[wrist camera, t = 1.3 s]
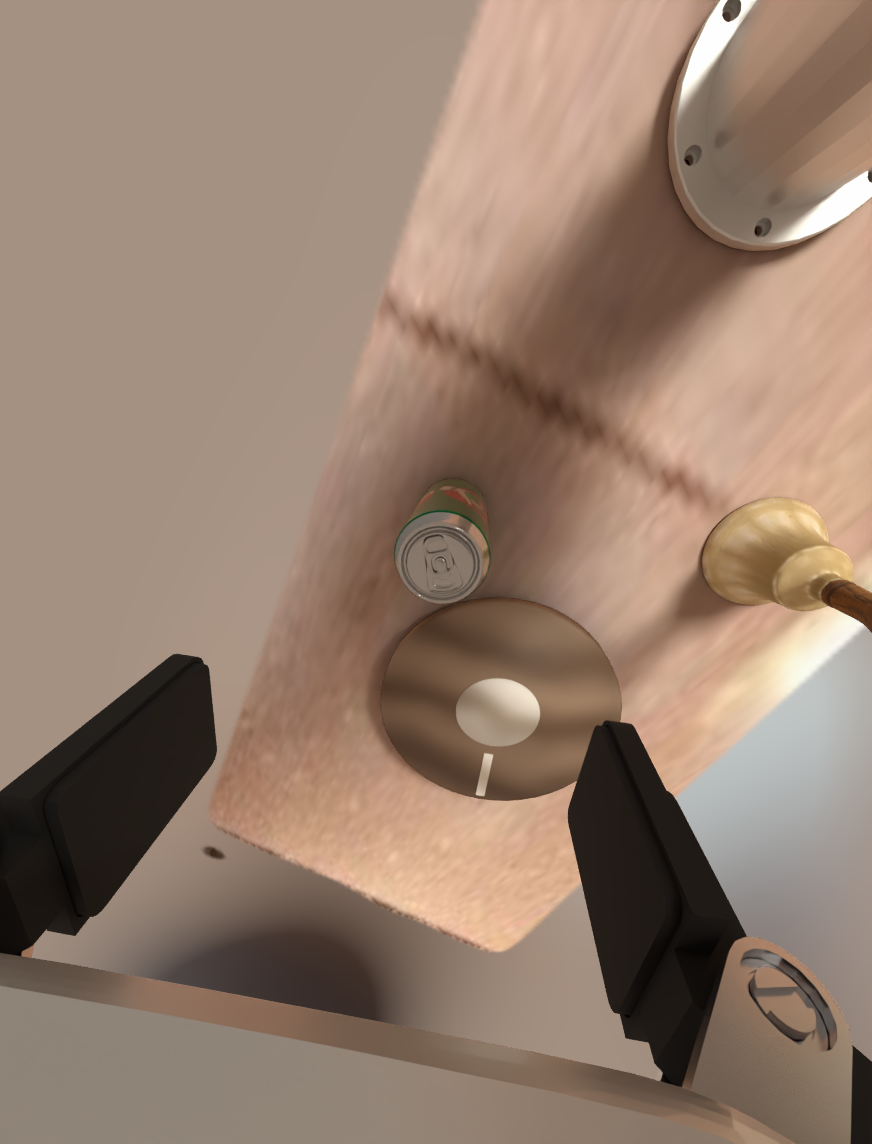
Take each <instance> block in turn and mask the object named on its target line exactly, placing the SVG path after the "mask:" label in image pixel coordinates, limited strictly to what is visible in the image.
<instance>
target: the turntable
mask: <svg viewBox="0 0 872 1144" xmlns="http://www.w3.org/2000/svg"><path fill="white" fill-rule="evenodd" d="M621 710H622V702H621V692H620V687H619V683H618V680H617V677H616V675H615V673H614V670H613V668H612V666H611V664H610V662H609V660H608V658H607V656H606V655H605V653H604V651H603V650H602V648H601V647H600V645H599V644H598V643H597V641H596V640H595V639H594V638H593V637H592V636H591V634H590V633H589V632H587V631H586V630H585V629H584V628H583V627H582V626H581V625H579V624H578V623H577V622H575V621H574V620H572V619H571V618H569V617H568V616H566V615H565V614H562V613H560V612H558V611H556V610H554V609H552V608H550V607H547V606H544V605H541V604H538V603H535V602H531V601H526V600H521V599H513V598H502V597H501V598H482V599H475V600H469V601H465V602H461V603H458V604H454V605H451V606H449V607H447V608H444V609H442V610H440V611H438V612H436V613H434V614H432V615H431V616H429V617H427V618H425V619H424V620H423V621H422V622H420V623H419V624H418V625H416V626H415V627H414V628H413V629H412V630H411V631H410V632H409V633H408V634H407V635H406V636H405V637H404V638H403V640H402V641H401V642H400V644H399V645H398V647H397V648H396V650H395V652H394V654H393V656H392V658H391V659H390V662H389V665H388V668H387V671H386V674H385V677H384V680H383V683H382V690H381V712H382V719H383V722H384V725H385V729H386V732H387V734H388V736H389V738H390V740H391V742H392V744H393V745H394V747H395V748H396V750H397V751H398V753H399V754H400V755H401V756H402V757H403V758H404V760H405V761H406V762H407V763H408V764H409V765H410V766H411V767H413V768H414V769H415V770H416V771H417V772H418V773H420V774H421V775H423V776H424V777H425V778H427V779H428V780H430V781H432V782H434V783H435V784H437V785H439V786H441V787H443V788H446V789H448V790H450V791H453V792H456V793H459V794H462V795H465V796H469V797H474V798H479V799H486V800H501V801H510V800H522V799H528V798H534V797H538V796H542V795H546V794H549V793H552V792H554V791H557V790H559V789H562V788H564V787H566V786H568V785H570V784H572V783H573V782H575V781H577V780H578V777H579V774H580V771H581V767H582V764H583V761H584V758H585V755H586V752H587V749H588V746H589V743H590V740H591V736H592V733H593V730H594V728H595V726H596V725H600V726H602V724H603V722H604V721H606V720H609V721H616V722H620V720H621Z"/></svg>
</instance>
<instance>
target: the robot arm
mask: <svg viewBox="0 0 872 1144" xmlns="http://www.w3.org/2000/svg"><path fill="white" fill-rule="evenodd" d="M667 140H668V156H669V168H670V172H671V176H672V180H673V184H674V188H675V191H676V193H677V196H678V198H679V200H680V202H681V204H682V206H683V208H684V210H685V212H686V213H687V214H688V216H689V217H690V218H691V219H692V221H693V222H694V223H695V225H696V226H697V227H698V228H699V229H701V230H702V231H703V232H704V233H706V234H707V235H708V236H710V237H711V238H712V239H713V240H715V241H718V242H720V243H722V244H725V245H727V246H729V247H732V248H737V249H743V250H749V251H763V250H776V249H780V248H784V247H787V246H791V245H795V244H798V243H801V242H803V241H805V240H807V239H809V238H811V237H813V236H816V235H818V234H820V233H822V232H824V231H825V230H827V229H829V228H831V227H832V226H834V225H836V224H838V223H839V222H841V221H843V220H845V219H846V218H847V217H849V216H850V215H851V214H852V213H854V212H855V211H856V210H858V209H859V208H860V207H861V206H863V205H864V204H865V203H867V202H868V201H869V200H870V199H871V198H872V0H719V1H718V2H717V4H716V5H715V7H714V8H713V10H712V11H711V13H710V15H709V16H708V18H707V19H706V21H705V22H704V24H703V26H702V28H701V30H700V32H699V33H698V35H697V37H696V39H695V41H694V43H693V44H692V46H691V48H690V50H689V53H688V55H687V58H686V60H685V63H684V65H683V68H682V70H681V73H680V75H679V78H678V81H677V85H676V89H675V93H674V97H673V101H672V105H671V109H670V118H669V129H668V139H667ZM685 159H687V160H688V161H689V165H687V164H686V163H685V161H684V160H685ZM754 229H755V230H756V231H757V236H756V235H755V232H754ZM216 752H217V745H216V735H215V725H214V714H213V704H212V695H211V684H210V674H209V668H208V666H207V665H205V664H204V663H203V660H202V659H201V658H199V657H194V656H188V655H181V654H174V655H172V656H170V657H169V658H168V659H166V660H165V661H164V662H163V663H161V664H160V665H159V666H157V667H156V668H155V669H154V670H152V671H151V672H150V673H149V674H147V675H146V676H145V677H144V678H142V679H141V680H140V681H139V682H137V683H136V684H135V685H134V686H132V687H131V688H130V689H128V690H127V691H126V692H125V693H123V694H122V695H121V696H120V697H119V698H117V699H116V700H115V701H114V702H112V703H111V704H110V705H108V706H107V707H106V708H105V709H104V710H102V711H101V712H100V713H98V714H97V715H96V716H94V717H93V718H92V719H91V720H89V721H88V722H87V723H86V724H84V725H83V726H82V727H81V728H79V729H78V730H77V731H76V732H74V733H73V734H72V735H71V736H69V737H68V738H67V739H66V740H64V741H63V742H62V743H60V744H59V745H58V746H57V747H56V748H54V749H53V750H52V751H50V752H49V753H48V754H47V755H45V756H44V757H43V758H42V759H40V760H39V761H38V762H37V763H35V764H34V765H33V766H32V767H30V768H29V769H28V770H27V771H25V772H24V773H23V774H21V775H20V776H19V777H18V778H17V779H15V780H14V781H13V782H11V783H10V784H9V785H8V786H6V787H5V788H4V789H3V790H1V791H0V1144H872V1062H871V1061H870V1060H869V1059H868V1058H867V1057H866V1056H864V1055H863V1054H862V1053H861V1052H860V1051H859V1050H857V1049H856V1048H855V1047H854V1046H853V1045H852V1042H851V1036H850V1030H849V1028H848V1026H847V1023H846V1021H845V1019H844V1017H843V1014H842V1012H841V1010H840V1008H839V1007H838V1005H837V1004H836V1002H835V1001H834V999H833V998H832V996H831V995H830V993H829V992H828V990H827V989H826V988H825V987H824V986H823V984H822V983H821V982H820V981H819V980H818V979H817V978H816V977H815V975H814V974H813V973H812V972H811V971H810V970H809V969H808V968H807V967H805V966H804V965H803V964H802V963H801V962H800V961H798V960H797V959H796V958H795V957H794V956H793V955H791V954H790V953H788V952H786V951H785V950H783V949H782V948H780V947H778V946H777V945H775V944H772V943H770V942H767V941H765V940H763V939H760V938H752V937H747V936H746V934H745V932H744V930H743V928H742V926H741V924H740V922H739V920H738V918H737V916H736V914H735V913H734V911H733V909H732V907H731V905H730V903H729V901H728V899H727V897H726V895H725V893H724V891H723V889H722V887H721V886H720V884H719V882H718V880H717V878H716V876H715V874H714V872H713V870H712V868H711V866H710V864H709V862H708V860H707V858H706V856H705V855H704V853H703V851H702V849H701V847H700V845H699V843H698V841H697V839H696V838H695V835H694V833H693V831H692V830H691V828H690V826H689V824H688V822H687V820H686V818H685V816H684V814H683V812H682V810H681V808H680V806H679V804H678V803H677V801H676V799H675V798H674V796H673V795H672V794H671V793H670V792H668V791H666V789H665V787H664V785H663V783H662V781H661V779H660V777H659V775H658V773H657V771H656V769H655V767H654V765H653V763H652V761H651V759H650V757H649V755H648V753H647V751H646V749H645V747H644V745H643V743H642V741H641V739H640V737H639V735H638V733H637V731H636V729H635V728H634V726H633V725H632V724H629V723H622V722H616V721H609V720H606V721H604V722H603V724H602V726H600V725H596V726H595V728H594V730H593V733H592V736H591V740H590V743H589V746H588V749H587V752H586V755H585V758H584V761H583V764H582V767H581V771H580V774H579V777H578V780H577V783H576V786H575V789H574V792H573V795H572V798H571V802H570V805H569V809H568V823H569V828H570V833H571V837H572V842H573V846H574V851H575V855H576V860H577V864H578V868H579V873H580V877H581V882H582V886H583V891H584V895H585V899H586V904H587V908H588V913H589V917H590V921H591V926H592V931H593V935H594V940H595V944H596V948H597V953H598V957H599V962H600V966H601V971H602V975H603V979H604V984H605V988H606V993H607V997H608V1001H609V1004H610V1007H611V1009H612V1011H613V1012H614V1013H618V1014H620V1016H621V1020H622V1025H623V1029H624V1033H625V1038H627V1039H632V1040H638V1041H643V1042H648V1043H649V1045H650V1048H651V1052H652V1055H653V1059H654V1063H655V1064H656V1065H657V1067H658V1068H659V1071H658V1074H657V1077H656V1080H653V1079H650V1078H646V1077H643V1076H639V1075H636V1074H632V1073H628V1072H622V1071H618V1070H613V1069H609V1068H604V1067H600V1066H595V1065H591V1064H586V1063H582V1062H577V1061H573V1060H568V1059H564V1058H559V1057H554V1056H549V1055H545V1054H540V1053H536V1052H531V1051H526V1050H521V1049H515V1048H511V1047H506V1046H501V1045H496V1044H490V1043H485V1042H480V1041H475V1040H470V1039H465V1038H460V1037H454V1036H449V1035H444V1034H439V1033H434V1032H429V1031H424V1030H419V1029H414V1028H409V1027H403V1026H398V1025H393V1024H387V1023H383V1022H378V1021H372V1020H367V1019H362V1018H357V1017H351V1016H346V1015H341V1014H336V1013H330V1012H325V1011H320V1010H314V1009H309V1008H304V1007H298V1006H293V1005H288V1004H282V1003H277V1002H272V1001H267V1000H261V999H256V998H251V997H246V996H240V995H235V994H229V993H224V992H219V991H214V990H208V989H202V988H197V987H192V986H186V985H180V984H175V983H170V982H165V981H159V980H154V979H148V978H142V977H137V976H131V975H126V974H120V973H114V972H110V971H104V970H99V969H93V968H88V967H81V966H77V965H71V964H65V963H60V962H53V961H47V960H40V959H35V958H32V953H33V946H34V943H35V942H36V941H37V940H38V939H39V937H40V936H41V935H42V934H43V933H44V931H45V930H46V929H47V931H51V932H57V933H62V934H67V935H73V936H76V934H77V933H78V932H79V930H80V929H81V928H82V926H83V925H84V924H85V923H86V921H87V920H88V919H89V917H94V916H96V915H97V914H99V913H100V912H101V911H102V910H103V909H104V907H105V906H106V905H107V904H108V902H109V901H110V900H111V898H112V897H113V896H114V894H115V893H116V892H117V890H118V889H119V888H120V886H121V885H122V884H123V882H124V881H125V880H126V878H127V877H128V876H129V874H130V873H131V872H132V870H133V869H134V868H135V866H136V865H137V864H138V862H139V861H140V860H141V858H142V857H143V856H144V854H145V853H146V852H147V850H148V849H149V848H150V846H151V845H152V844H153V842H154V841H155V840H156V839H157V837H158V836H159V834H160V833H161V832H162V831H163V829H164V828H165V827H166V825H167V824H168V823H169V821H170V820H171V819H172V817H173V816H174V815H175V813H176V812H177V811H178V809H179V808H180V807H181V805H182V804H183V803H184V801H185V800H186V799H187V797H188V796H189V795H190V793H191V792H192V791H193V789H194V788H195V786H196V785H197V784H198V783H199V781H200V780H201V779H202V777H203V776H204V775H205V773H206V772H207V771H208V769H209V768H210V767H211V765H212V764H213V762H214V760H215V756H216Z"/></svg>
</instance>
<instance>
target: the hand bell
mask: <svg viewBox="0 0 872 1144" xmlns="http://www.w3.org/2000/svg"><path fill="white" fill-rule="evenodd" d="M702 570H703V575H704V577H705V580H706V582H707V583H708V585H709V586H710V588H711V589H712V590H713V591H714V592H715V593H716V594H718V595H719V596H721V597H722V598H724V599H726V600H728V601H731V602H735V603H739V604H748V605H757V604H767V603H771V602H775V603H778V604H780V605H782V606H784V607H786V608H788V609H792V610H797V611H812V610H817V609H821V608H823V607H826V606H830V607H832V608H835V609H837V610H839V611H841V612H843V613H845V614H847V615H849V616H851V617H852V618H854V619H856V620H858V621H860V622H861V623H863V624H864V625H865V626H866V627H867V628H868V629H869V630H870V631H871V632H872V593H871V592H869V591H867V590H865V589H863V588H861V587H860V586H857V585H856V584H854V583H853V582H852V580H853V564H852V562H851V560H850V558H849V557H848V556H847V555H846V554H845V553H844V552H843V551H841V550H839V549H838V548H836V547H834V546H832V545H831V544H829V541H828V532H827V529H826V526H825V523H824V521H823V520H822V518H821V516H820V515H819V514H818V513H817V512H816V511H815V510H814V509H813V508H812V507H810V506H809V505H807V504H805V503H803V502H801V501H798V500H795V499H790V498H781V497H775V498H766V499H762V500H757V501H754V502H751V503H749V504H747V505H744V506H742V507H740V508H739V509H737V510H735V511H734V512H732V513H731V514H729V515H728V516H727V517H726V518H724V519H723V520H722V521H721V522H720V523H719V524H718V525H717V527H716V528H715V529H714V530H713V532H712V533H711V535H710V536H709V538H708V540H707V542H706V545H705V548H704V551H703V555H702Z"/></svg>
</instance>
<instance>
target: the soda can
mask: <svg viewBox="0 0 872 1144" xmlns="http://www.w3.org/2000/svg"><path fill="white" fill-rule="evenodd" d="M490 560H491V553H490V541H489V529H488V518H487V508H486V503H485V500H484V498H483V496H482V494H481V493H480V491H479V490H478V489H477V488H476V487H475V486H473V485H472V484H471V483H469V482H467V481H464V480H460V479H445V480H442V481H439V482H437V483H435V484H434V485H433V486H431V487H430V488H429V489H428V490H427V492H426V493H425V494H424V496H423V497H422V499H421V501H420V502H419V504H418V505H417V507H416V508H415V510H414V511H413V513H412V515H411V516H410V518H409V519H408V521H407V522H406V524H405V526H404V527H403V529H402V530H401V532H400V534H399V536H398V538H397V540H396V544H395V549H394V561H395V566H396V569H397V572H398V574H399V576H400V578H401V579H402V581H403V582H404V584H405V586H406V587H407V588H408V589H409V590H410V591H411V592H412V593H413V594H414V595H416V596H417V597H419V598H421V599H423V600H425V601H428V602H431V603H437V604H446V603H452V602H456V601H458V600H461V599H463V598H464V597H466V596H468V595H469V594H471V593H473V592H474V591H475V590H476V589H477V588H478V587H479V586H480V585H481V584H482V582H483V581H484V579H485V578H486V576H487V573H488V571H489V567H490Z"/></svg>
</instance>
